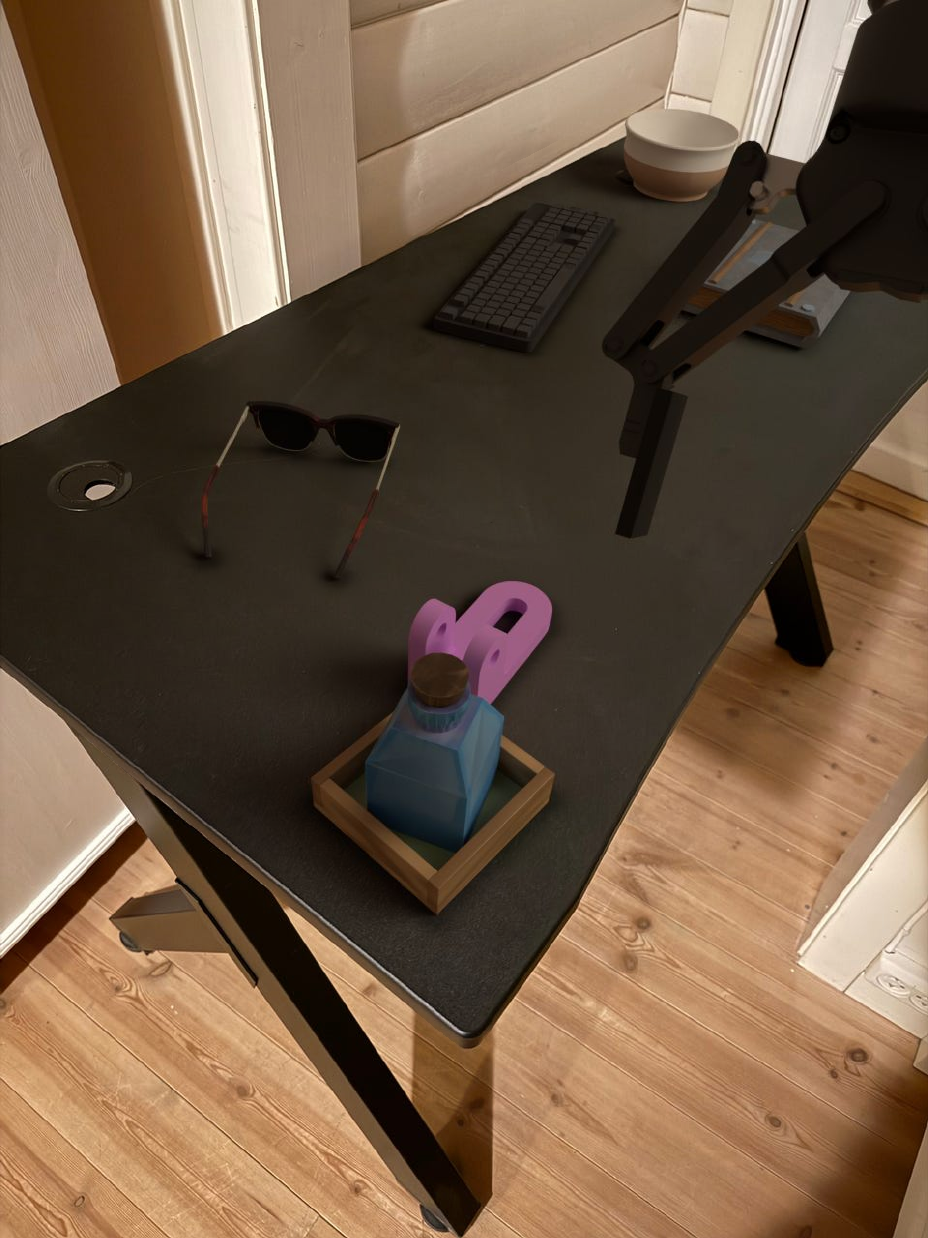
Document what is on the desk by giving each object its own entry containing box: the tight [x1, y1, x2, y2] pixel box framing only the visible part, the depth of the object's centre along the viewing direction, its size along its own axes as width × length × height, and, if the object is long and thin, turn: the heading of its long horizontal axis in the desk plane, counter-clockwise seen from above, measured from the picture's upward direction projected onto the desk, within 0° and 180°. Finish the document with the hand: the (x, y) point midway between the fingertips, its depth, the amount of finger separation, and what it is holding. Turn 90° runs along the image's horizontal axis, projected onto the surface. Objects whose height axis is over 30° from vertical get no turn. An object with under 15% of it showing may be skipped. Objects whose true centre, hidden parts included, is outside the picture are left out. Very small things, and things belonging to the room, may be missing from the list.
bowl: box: [623, 108, 741, 203], centre depth 128 cm, size 16×16×8 cm
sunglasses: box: [201, 400, 401, 580], centre depth 76 cm, size 14×16×5 cm
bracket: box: [407, 580, 553, 706], centre depth 65 cm, size 13×6×7 cm, turn 148°
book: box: [681, 218, 851, 350], centre depth 107 cm, size 21×16×5 cm
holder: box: [310, 710, 556, 915], centre depth 56 cm, size 11×11×3 cm
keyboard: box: [434, 202, 616, 354], centre depth 109 cm, size 35×11×2 cm, turn 159°
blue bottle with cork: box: [365, 652, 505, 853], centre depth 53 cm, size 6×6×12 cm
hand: (779, 581), depth 39 cm, fingers open, 13 cm apart
